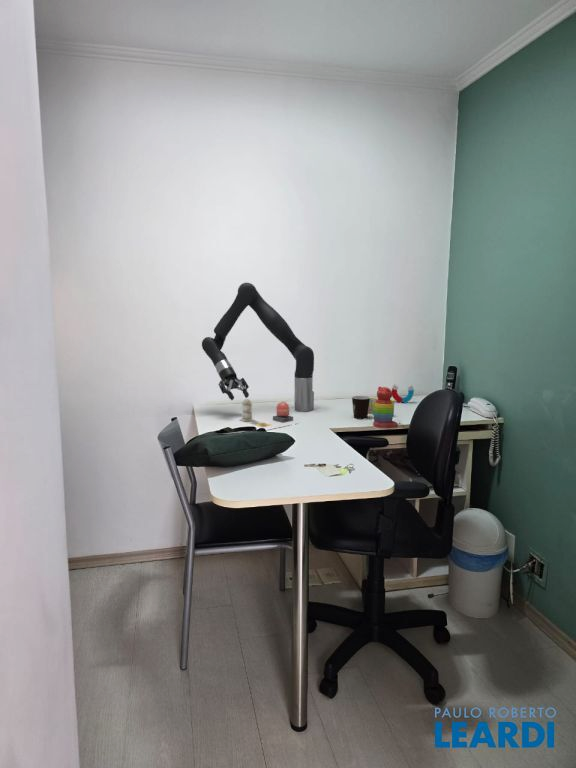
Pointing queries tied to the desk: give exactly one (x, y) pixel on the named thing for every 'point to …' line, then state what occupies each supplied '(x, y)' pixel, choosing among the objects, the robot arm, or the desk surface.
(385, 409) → the stacking bear
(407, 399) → the magnet
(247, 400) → the pawn
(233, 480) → the desk surface
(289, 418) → the game board
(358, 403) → the coffee mug
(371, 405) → the candy box
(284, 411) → the dome
